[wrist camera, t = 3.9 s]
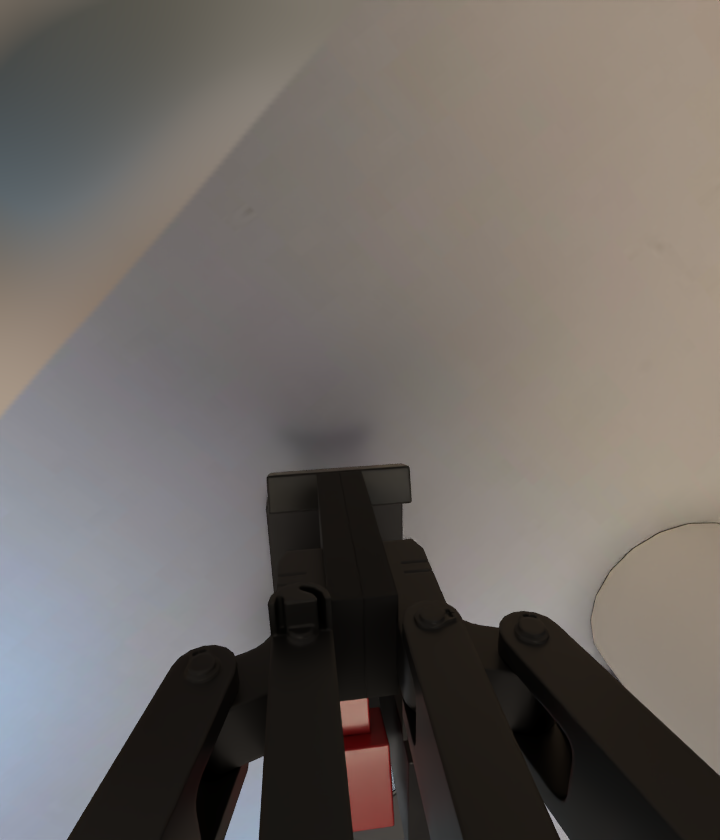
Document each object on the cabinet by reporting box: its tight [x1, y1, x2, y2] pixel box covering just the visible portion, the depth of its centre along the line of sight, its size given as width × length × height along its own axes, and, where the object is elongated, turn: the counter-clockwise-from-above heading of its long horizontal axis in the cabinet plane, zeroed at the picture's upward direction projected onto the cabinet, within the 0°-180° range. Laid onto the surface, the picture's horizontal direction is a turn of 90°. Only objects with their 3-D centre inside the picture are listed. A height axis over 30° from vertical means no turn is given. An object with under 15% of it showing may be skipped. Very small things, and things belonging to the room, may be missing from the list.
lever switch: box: [266, 497, 431, 840], centre depth 21 cm, size 14×6×10 cm, turn 2°
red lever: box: [267, 463, 412, 832], centre depth 19 cm, size 12×5×2 cm, turn 2°
